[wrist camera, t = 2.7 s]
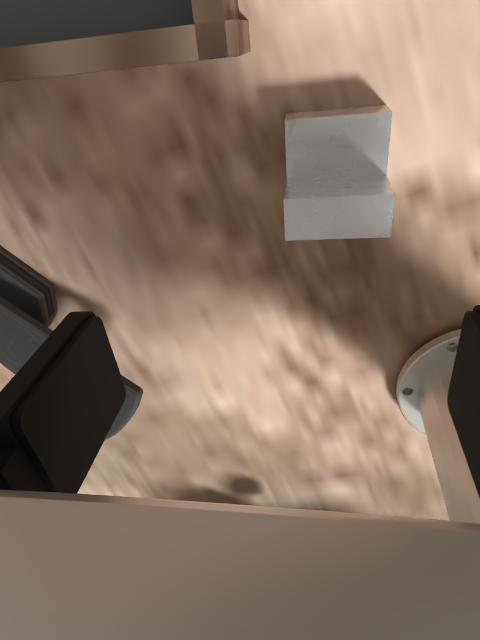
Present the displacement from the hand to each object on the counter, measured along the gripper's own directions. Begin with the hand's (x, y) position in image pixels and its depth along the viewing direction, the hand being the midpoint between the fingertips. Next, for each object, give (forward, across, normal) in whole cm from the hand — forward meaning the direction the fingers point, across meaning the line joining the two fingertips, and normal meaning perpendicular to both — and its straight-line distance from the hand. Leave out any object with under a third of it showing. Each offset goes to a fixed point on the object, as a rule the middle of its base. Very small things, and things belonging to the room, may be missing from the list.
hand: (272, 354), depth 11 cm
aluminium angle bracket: (+21, -2, 0) cm, 21 cm away
